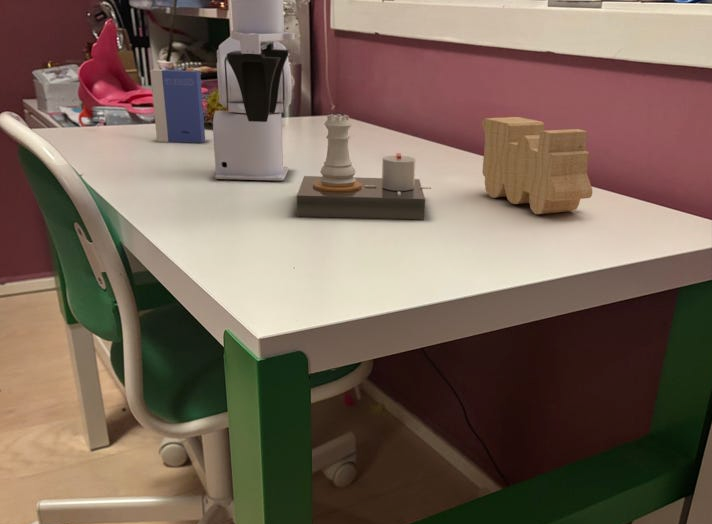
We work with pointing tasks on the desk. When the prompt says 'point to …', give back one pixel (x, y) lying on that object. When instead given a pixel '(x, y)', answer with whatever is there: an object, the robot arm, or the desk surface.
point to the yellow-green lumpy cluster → (213, 107)
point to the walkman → (178, 105)
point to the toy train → (535, 164)
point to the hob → (361, 201)
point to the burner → (321, 186)
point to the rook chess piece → (337, 154)
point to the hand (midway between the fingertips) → (262, 116)
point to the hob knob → (398, 172)
